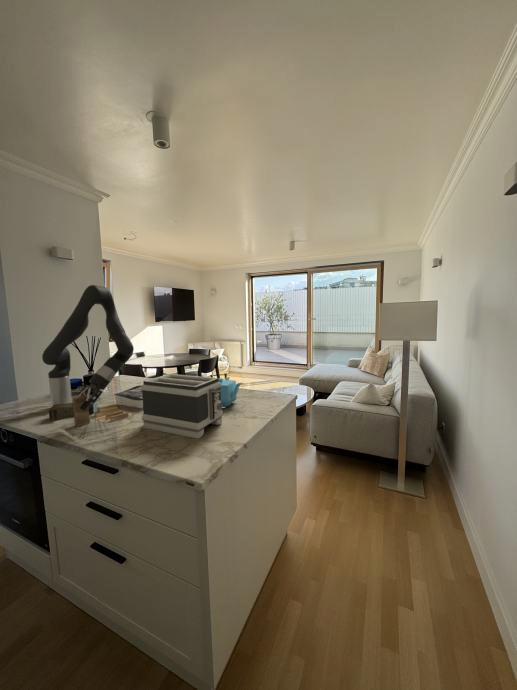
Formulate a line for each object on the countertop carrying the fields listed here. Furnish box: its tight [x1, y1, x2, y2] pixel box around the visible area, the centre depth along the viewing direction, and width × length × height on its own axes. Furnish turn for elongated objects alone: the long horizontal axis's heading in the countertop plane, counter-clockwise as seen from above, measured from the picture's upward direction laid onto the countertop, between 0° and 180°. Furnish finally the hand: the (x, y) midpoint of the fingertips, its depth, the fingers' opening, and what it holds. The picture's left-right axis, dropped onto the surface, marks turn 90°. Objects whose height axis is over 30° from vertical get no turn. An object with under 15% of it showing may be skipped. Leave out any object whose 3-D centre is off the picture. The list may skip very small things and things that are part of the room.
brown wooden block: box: [72, 395, 91, 427], centre depth 125 cm, size 3×5×13 cm, turn 143°
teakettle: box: [218, 376, 244, 407], centre depth 153 cm, size 19×19×15 cm
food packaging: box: [112, 384, 143, 410], centre depth 158 cm, size 25×8×23 cm
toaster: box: [141, 373, 224, 440], centre depth 123 cm, size 18×34×21 cm, turn 66°
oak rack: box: [90, 402, 135, 425], centre depth 135 cm, size 16×13×5 cm
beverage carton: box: [48, 400, 98, 422], centre depth 139 cm, size 8×19×7 cm, turn 109°
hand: (77, 407), depth 123 cm, fingers open, 8 cm apart
